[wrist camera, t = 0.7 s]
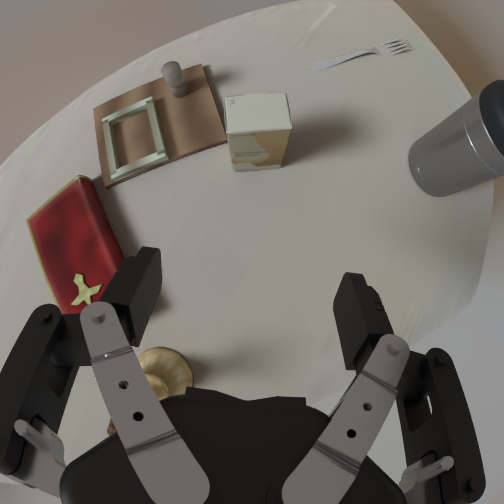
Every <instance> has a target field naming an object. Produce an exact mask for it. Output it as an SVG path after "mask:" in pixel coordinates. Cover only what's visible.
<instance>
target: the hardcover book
mask: <svg viewBox="0 0 504 504" xmlns="http://www.w3.org/2000/svg"><path fill="white" fill-rule="evenodd" d="M27 224H28V227H29V231H30V234H31V237H32V241H33V244H34V247H35V250H36V253H37V256H38V259H39V262H40V265H41V267H42V270H43V273H44V275H45V278H46V281H47V283H48V286H49V288H50V291H51V293H52V296H53V298H54V300H55V303H56V305H57V306H58V307H59V309H60V310H61V313H62V314H76V313H81V312H82V310H83V309H84V308H85V307H86V306H87V305H89V304H91V303H93V302H98V301H99V299H100V297H101V296H102V294H103V292H104V291H105V289H106V287H107V285H108V284H109V282H110V280H111V279H112V278H113V275H114V274H115V272H116V270H117V269H118V267H119V266H120V264H121V263H122V262H123V261H124V260H125V258H124V256H123V254H122V252H121V249H120V247H119V245H118V243H117V241H116V238H115V236H114V234H113V232H112V229H111V227H110V225H109V222H108V220H107V217H106V215H105V213H104V210H103V208H102V205H101V203H100V200H99V198H98V195H97V192H96V190H95V187H94V185H93V182H92V180H91V179H90V178H88V177H86V176H83V175H78V176H77V177H76V178H74V179H73V180H72V181H71V182H69V183H68V184H67V185H66V186H64V187H63V188H62V189H61V190H60V191H58V192H57V193H56V194H55V195H54V196H52V197H51V198H50V199H49V200H48V201H47V202H46V203H44V204H43V205H42V206H41V207H40V208H39V209H38V210H37V211H35V212H34V213H33V214H32V215H31V216H30V217H29V218H28V219H27Z"/></svg>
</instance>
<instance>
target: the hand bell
mask: <svg viewBox="0 0 504 504" xmlns="http://www.w3.org/2000/svg"><path fill="white" fill-rule="evenodd" d="M138 361H139V363H140V365H141V367H142V369H143V371H144V373H145V375H146V377H147V379H148V381H149V383H150V385H151V387H152V389H153V391H154V393H155V395H156V397H157V398H158V400H162V399H164V398H167V397H170V396H174V395H180V394H185V391H186V386H187V387H192V385H193V375H192V371H191V369H190V366H189V365H188V363H187V362H186V361H185V360H184V358H182V357H181V356H180V355H179V354H178V353H176V352H174V351H172V350H170V349H166V348H160V347H158V348H152V349H149V350H147V351H145V352H144V353H143V354H142V355H141V356H140V357H139V359H138ZM116 431H117V430H116V428H115V426H114V423H113V421H112V419H110V423H109V426H108V428H107V433H108V434H109V436H110V435H112V434H113V433H114V432H116Z"/></svg>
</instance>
